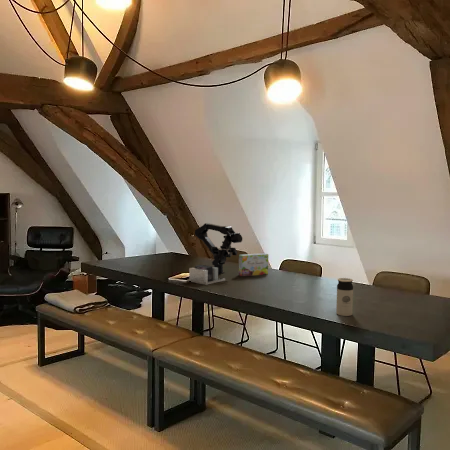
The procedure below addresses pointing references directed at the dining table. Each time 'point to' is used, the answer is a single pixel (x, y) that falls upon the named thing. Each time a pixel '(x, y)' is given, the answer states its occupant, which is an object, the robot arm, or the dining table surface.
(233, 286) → the dining table surface
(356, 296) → the dining table surface
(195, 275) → the vise
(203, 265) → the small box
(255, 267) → the snack box
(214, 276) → the free jaw
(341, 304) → the travel mug
